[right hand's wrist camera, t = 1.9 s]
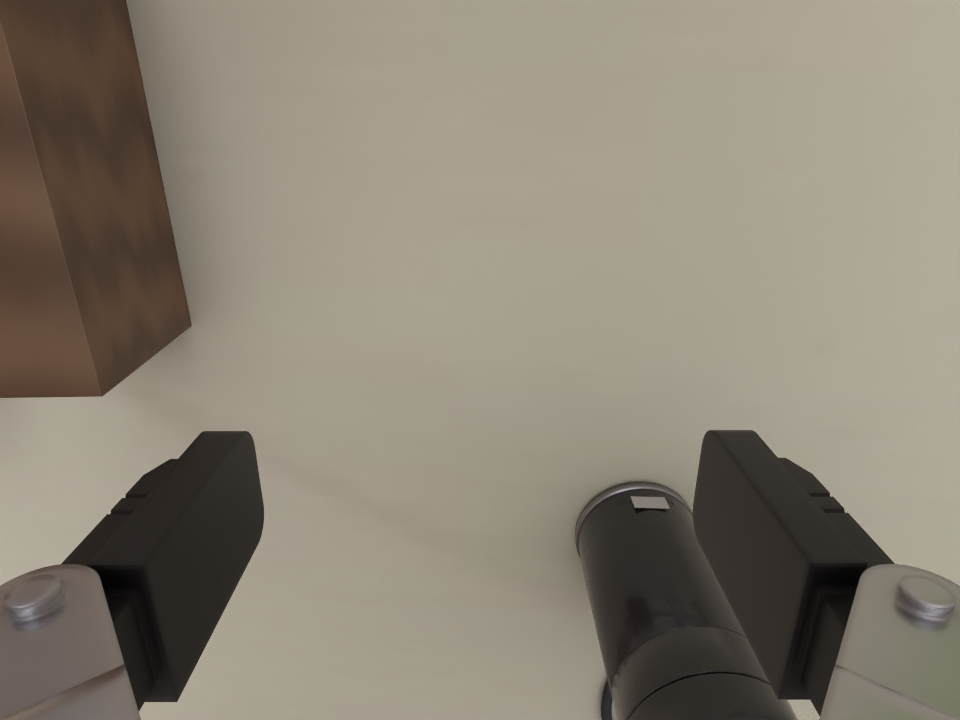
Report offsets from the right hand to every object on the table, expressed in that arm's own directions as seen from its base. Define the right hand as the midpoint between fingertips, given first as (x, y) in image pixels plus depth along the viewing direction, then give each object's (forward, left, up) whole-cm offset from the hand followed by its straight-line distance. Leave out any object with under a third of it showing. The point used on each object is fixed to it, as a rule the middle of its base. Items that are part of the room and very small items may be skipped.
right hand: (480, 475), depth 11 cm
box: (+5, +23, -31) cm, 39 cm away
